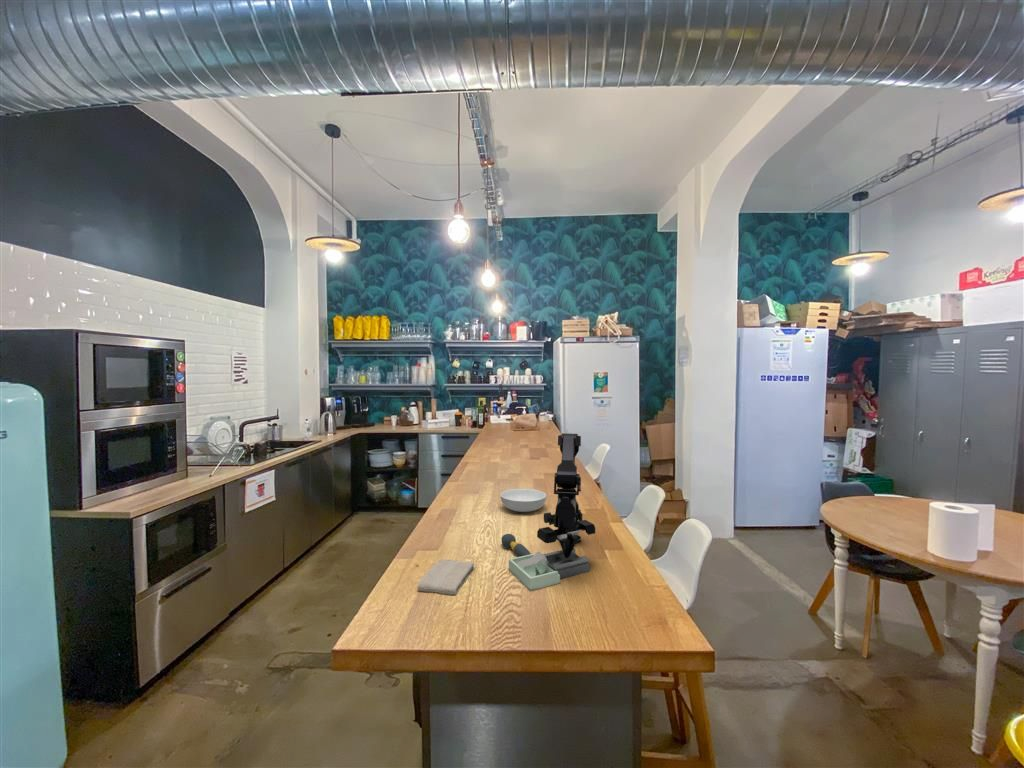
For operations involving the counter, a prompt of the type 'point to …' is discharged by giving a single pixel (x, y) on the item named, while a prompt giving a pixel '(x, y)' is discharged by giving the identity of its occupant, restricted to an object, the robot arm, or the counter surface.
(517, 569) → the chip tray
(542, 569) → the grey cube
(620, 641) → the counter surface
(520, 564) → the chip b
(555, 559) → the slot board
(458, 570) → the washcloth
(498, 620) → the counter surface
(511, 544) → the paintbrush
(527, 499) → the serving bowl
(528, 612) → the counter surface
